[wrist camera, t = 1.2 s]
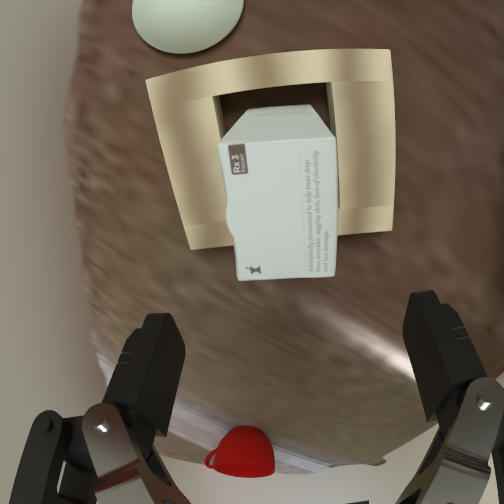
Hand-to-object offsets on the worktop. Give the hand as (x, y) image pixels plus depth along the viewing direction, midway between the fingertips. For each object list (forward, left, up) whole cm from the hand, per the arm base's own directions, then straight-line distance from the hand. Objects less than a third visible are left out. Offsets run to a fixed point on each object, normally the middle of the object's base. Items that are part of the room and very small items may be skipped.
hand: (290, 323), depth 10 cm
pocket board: (0, 0, -22) cm, 22 cm away
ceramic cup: (+15, +60, -22) cm, 66 cm away
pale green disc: (+6, -15, -22) cm, 27 cm away
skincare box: (0, 0, -22) cm, 22 cm away
